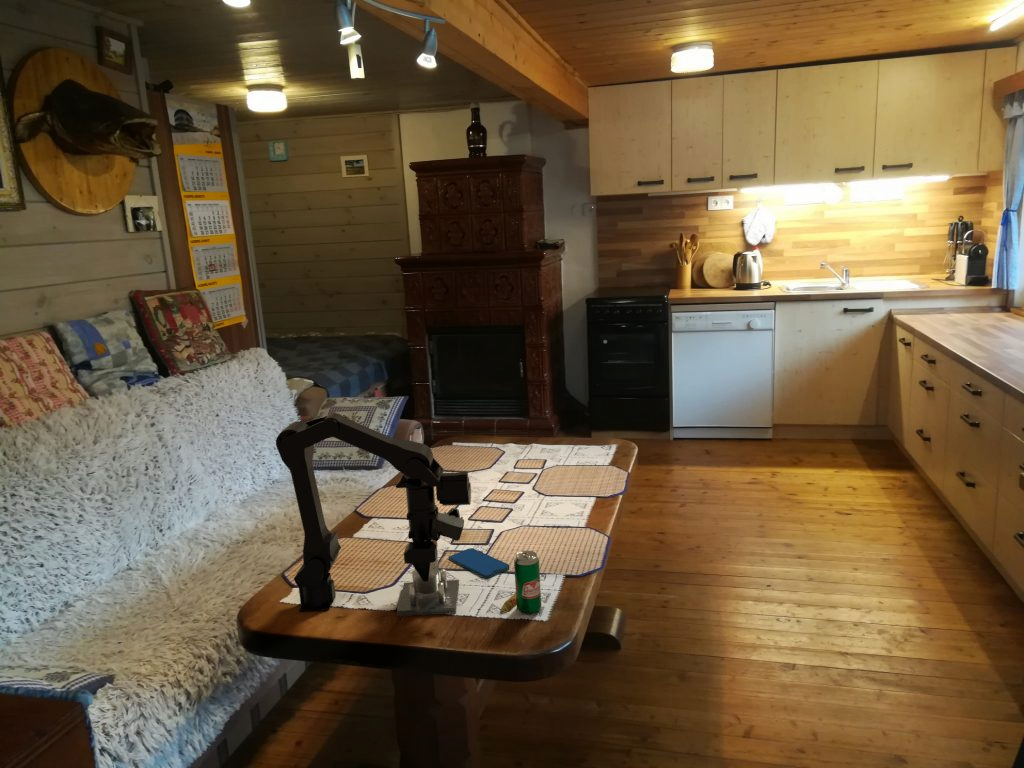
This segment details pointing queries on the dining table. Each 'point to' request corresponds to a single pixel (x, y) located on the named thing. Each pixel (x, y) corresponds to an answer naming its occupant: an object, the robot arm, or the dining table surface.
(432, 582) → the canister
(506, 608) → the chocolate bar
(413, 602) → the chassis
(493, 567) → the smartphone
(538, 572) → the soda can
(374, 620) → the dining table surface
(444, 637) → the dining table surface
